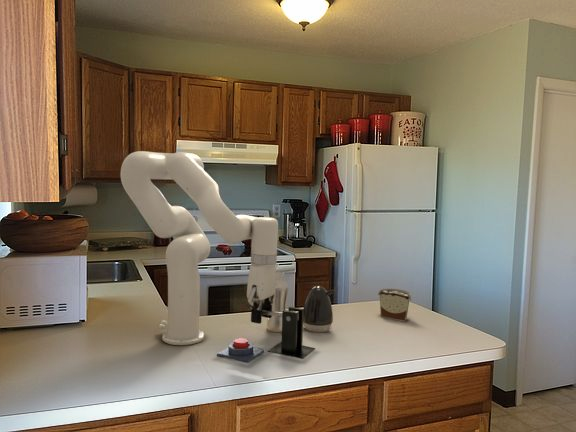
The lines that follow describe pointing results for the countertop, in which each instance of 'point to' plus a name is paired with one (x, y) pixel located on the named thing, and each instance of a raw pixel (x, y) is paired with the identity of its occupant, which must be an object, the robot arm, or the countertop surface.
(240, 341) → the button
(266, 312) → the lever
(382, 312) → the food container
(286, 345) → the bracket
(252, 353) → the button box
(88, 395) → the countertop surface
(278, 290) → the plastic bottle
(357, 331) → the countertop surface
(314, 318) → the dark grey tapered dome
